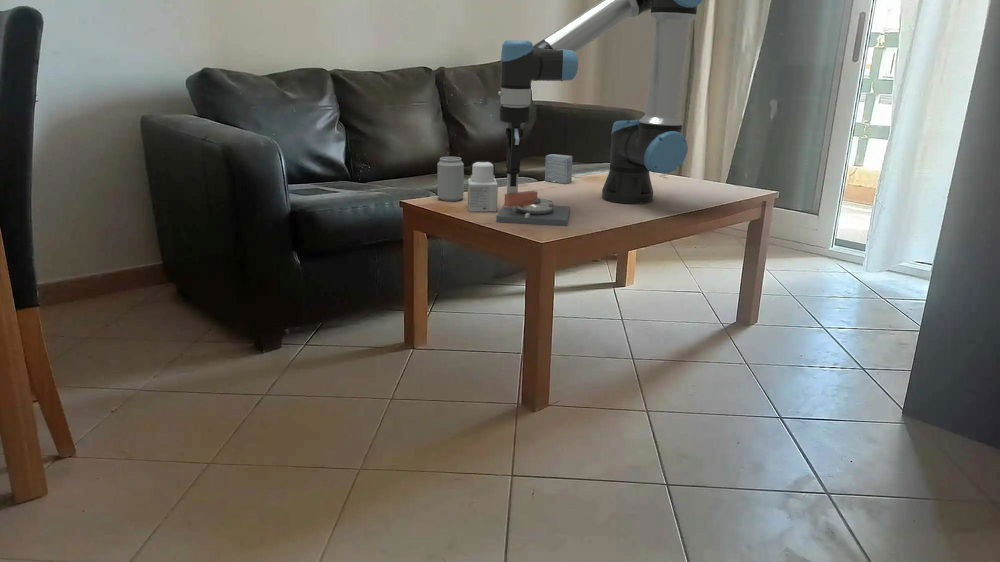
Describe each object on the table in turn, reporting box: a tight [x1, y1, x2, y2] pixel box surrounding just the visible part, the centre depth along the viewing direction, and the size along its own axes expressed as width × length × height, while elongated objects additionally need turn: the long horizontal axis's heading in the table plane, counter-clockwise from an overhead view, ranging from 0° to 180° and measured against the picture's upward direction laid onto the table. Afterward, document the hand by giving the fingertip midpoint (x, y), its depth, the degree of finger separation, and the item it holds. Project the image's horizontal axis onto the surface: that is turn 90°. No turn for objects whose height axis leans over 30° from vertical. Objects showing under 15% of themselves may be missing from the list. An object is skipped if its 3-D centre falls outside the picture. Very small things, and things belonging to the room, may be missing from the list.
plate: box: [495, 202, 571, 227], centre depth 191 cm, size 18×16×2 cm
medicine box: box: [544, 153, 573, 185], centre depth 236 cm, size 8×4×9 cm, turn 59°
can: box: [437, 156, 465, 202], centre depth 208 cm, size 8×8×12 cm
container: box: [467, 160, 499, 213], centre depth 197 cm, size 8×8×13 cm
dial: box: [503, 190, 555, 214], centre depth 189 cm, size 14×10×5 cm
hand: (512, 197), depth 188 cm, fingers closed
